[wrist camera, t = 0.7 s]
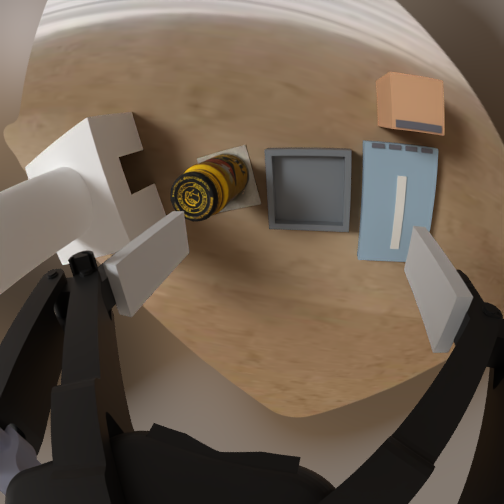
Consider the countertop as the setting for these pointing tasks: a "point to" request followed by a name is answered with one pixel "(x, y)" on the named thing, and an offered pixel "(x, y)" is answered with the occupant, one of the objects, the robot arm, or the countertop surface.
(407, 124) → the stub
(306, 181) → the tray
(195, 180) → the condiment
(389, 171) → the board
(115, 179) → the paper towel holder
